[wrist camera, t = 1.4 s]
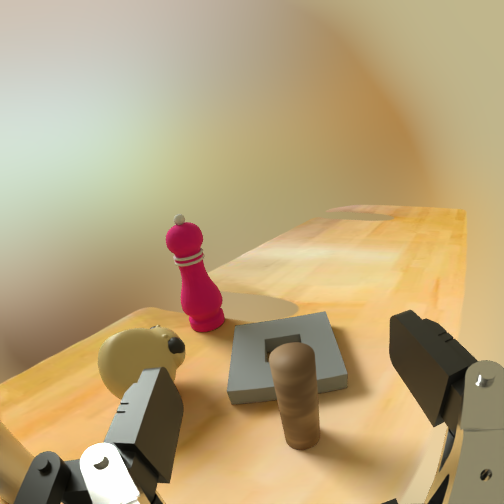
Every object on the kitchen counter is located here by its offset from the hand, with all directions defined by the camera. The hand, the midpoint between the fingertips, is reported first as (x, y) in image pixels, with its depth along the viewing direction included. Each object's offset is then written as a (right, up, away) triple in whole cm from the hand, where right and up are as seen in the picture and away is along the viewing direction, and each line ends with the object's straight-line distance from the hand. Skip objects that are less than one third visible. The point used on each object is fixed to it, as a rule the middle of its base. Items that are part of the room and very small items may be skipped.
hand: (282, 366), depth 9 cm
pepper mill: (-9, -9, +42) cm, 44 cm away
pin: (+4, -15, +16) cm, 23 cm away
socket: (+4, -11, +28) cm, 31 cm away
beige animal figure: (-14, -16, +26) cm, 34 cm away
